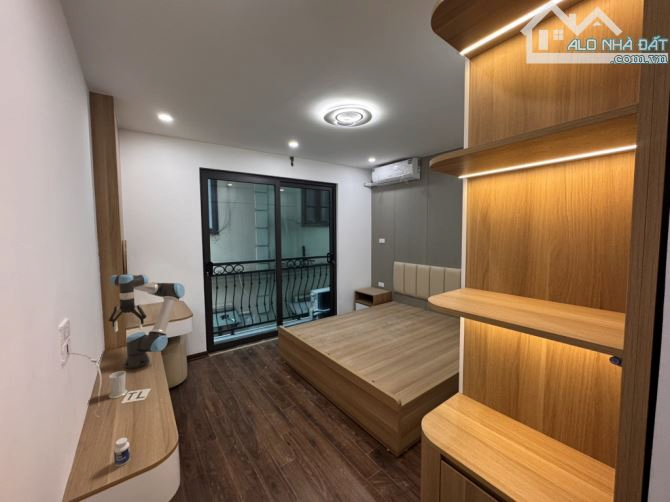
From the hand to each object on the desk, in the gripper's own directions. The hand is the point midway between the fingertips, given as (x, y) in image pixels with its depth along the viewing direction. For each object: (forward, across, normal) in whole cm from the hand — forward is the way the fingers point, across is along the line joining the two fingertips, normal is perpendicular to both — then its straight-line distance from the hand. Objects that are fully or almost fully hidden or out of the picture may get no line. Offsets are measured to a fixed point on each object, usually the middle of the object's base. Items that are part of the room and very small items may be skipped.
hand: (128, 330), depth 181 cm
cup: (+34, -2, -15) cm, 37 cm away
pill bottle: (+35, +20, -74) cm, 84 cm away
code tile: (+35, +9, -20) cm, 41 cm away
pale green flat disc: (+35, -2, -15) cm, 38 cm away
